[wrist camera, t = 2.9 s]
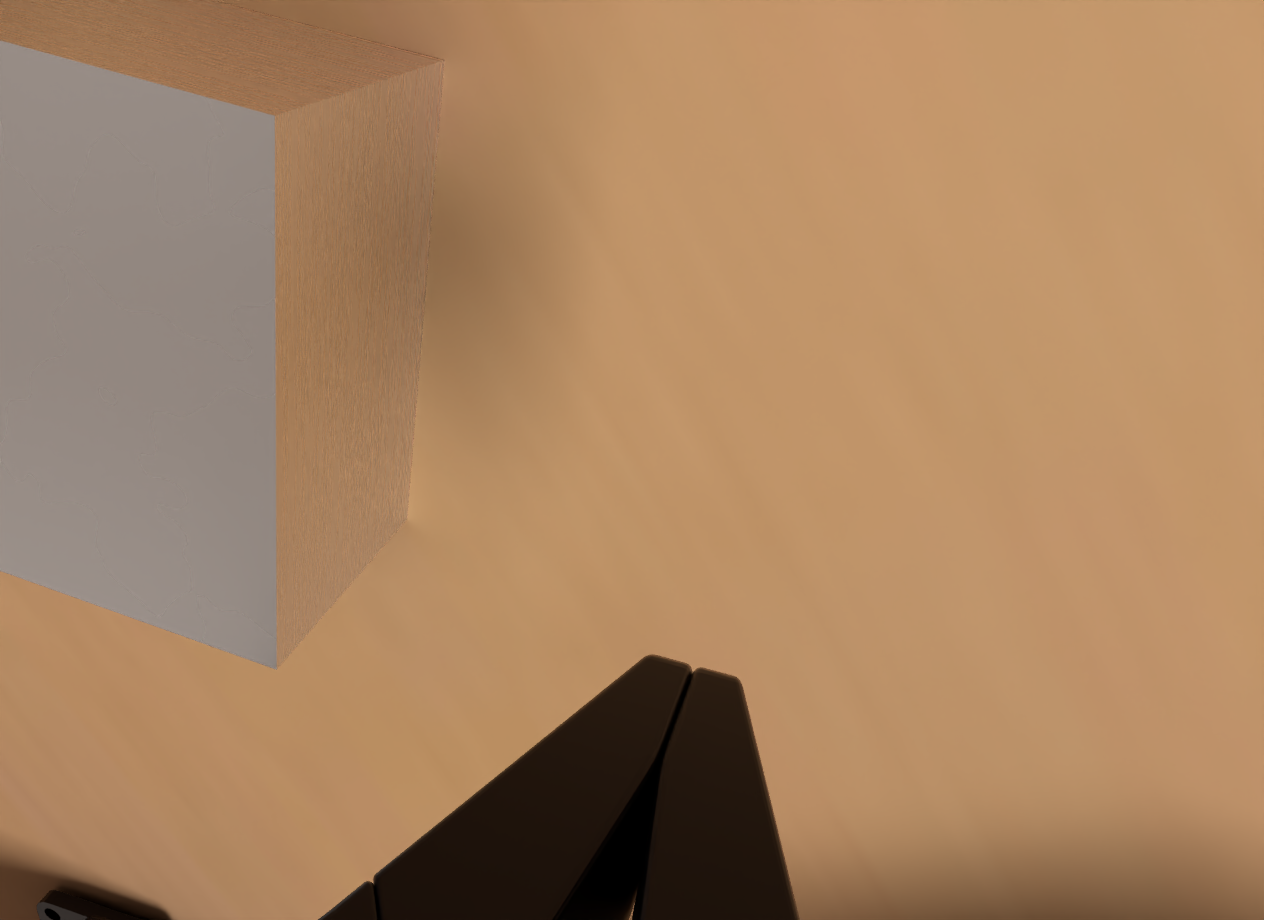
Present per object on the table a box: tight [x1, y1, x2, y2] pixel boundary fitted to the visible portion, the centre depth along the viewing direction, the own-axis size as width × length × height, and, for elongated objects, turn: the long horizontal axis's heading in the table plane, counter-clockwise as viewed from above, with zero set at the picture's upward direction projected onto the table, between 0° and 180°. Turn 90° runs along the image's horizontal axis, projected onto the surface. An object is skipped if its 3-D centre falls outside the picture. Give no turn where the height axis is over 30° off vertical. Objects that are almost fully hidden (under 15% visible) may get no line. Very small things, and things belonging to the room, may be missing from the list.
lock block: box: [0, 0, 444, 670], centre depth 15 cm, size 8×12×4 cm, turn 79°
